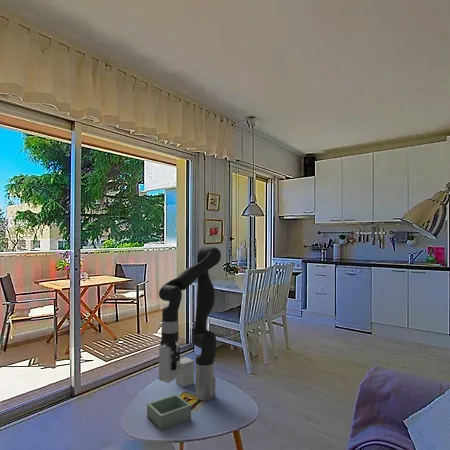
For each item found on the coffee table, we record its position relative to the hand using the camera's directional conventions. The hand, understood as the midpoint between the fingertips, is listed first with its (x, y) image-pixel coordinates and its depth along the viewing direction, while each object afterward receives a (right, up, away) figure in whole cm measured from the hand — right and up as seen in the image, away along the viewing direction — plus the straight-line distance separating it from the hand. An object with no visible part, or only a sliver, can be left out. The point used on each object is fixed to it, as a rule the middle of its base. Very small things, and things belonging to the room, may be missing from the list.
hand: (169, 367), depth 154 cm
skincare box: (0, -5, 0) cm, 5 cm away
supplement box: (+3, -23, +35) cm, 42 cm away
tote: (0, -22, -1) cm, 22 cm away
